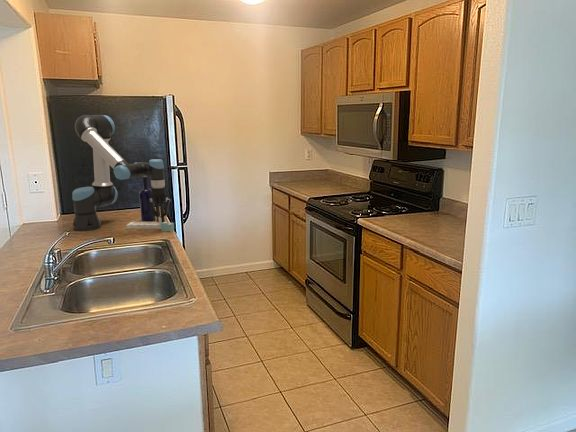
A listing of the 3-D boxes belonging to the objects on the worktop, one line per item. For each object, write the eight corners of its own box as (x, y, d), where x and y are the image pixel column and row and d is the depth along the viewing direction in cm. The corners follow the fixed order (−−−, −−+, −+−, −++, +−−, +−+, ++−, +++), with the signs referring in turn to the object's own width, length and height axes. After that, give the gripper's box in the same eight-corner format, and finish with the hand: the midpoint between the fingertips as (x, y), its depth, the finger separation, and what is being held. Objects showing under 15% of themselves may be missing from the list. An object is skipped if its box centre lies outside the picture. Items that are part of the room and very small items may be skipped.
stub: (161, 231, 244) (160, 224, 243) (164, 229, 249) (163, 222, 248) (171, 231, 244) (171, 224, 243) (174, 229, 249) (173, 222, 248)
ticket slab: (126, 228, 251) (126, 224, 251) (132, 224, 259) (131, 221, 258) (163, 228, 250) (163, 225, 249) (167, 225, 258) (167, 221, 257)
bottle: (153, 222, 265) (149, 173, 258) (138, 222, 265) (134, 174, 258) (158, 218, 274) (154, 171, 267) (143, 218, 274) (139, 172, 267)
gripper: (144, 188, 238) (147, 229, 243) (167, 188, 237) (170, 229, 243) (149, 186, 245) (152, 226, 251) (171, 186, 244) (174, 226, 250)
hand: (161, 227), depth 247 cm, fingers closed
